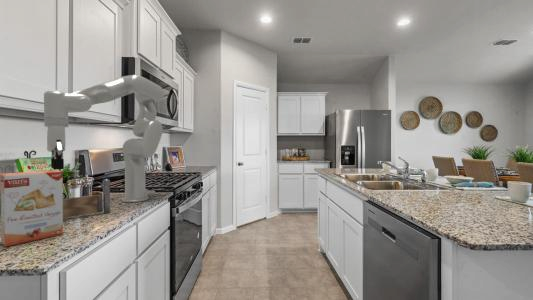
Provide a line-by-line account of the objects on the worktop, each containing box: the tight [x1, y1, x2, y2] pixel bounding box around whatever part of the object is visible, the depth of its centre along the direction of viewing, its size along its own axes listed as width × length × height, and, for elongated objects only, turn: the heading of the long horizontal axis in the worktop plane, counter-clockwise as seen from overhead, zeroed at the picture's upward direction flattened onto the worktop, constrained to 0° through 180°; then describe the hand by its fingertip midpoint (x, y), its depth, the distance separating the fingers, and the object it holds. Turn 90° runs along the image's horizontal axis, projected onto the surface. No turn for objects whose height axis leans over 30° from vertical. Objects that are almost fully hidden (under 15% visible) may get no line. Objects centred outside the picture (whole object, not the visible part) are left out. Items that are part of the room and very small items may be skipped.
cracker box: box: [0, 169, 64, 247], centre depth 84 cm, size 14×6×21 cm, turn 143°
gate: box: [63, 193, 103, 219], centre depth 105 cm, size 21×2×7 cm, turn 134°
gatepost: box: [101, 178, 111, 215], centre depth 114 cm, size 3×3×14 cm
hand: (57, 168), depth 107 cm, fingers open, 5 cm apart
